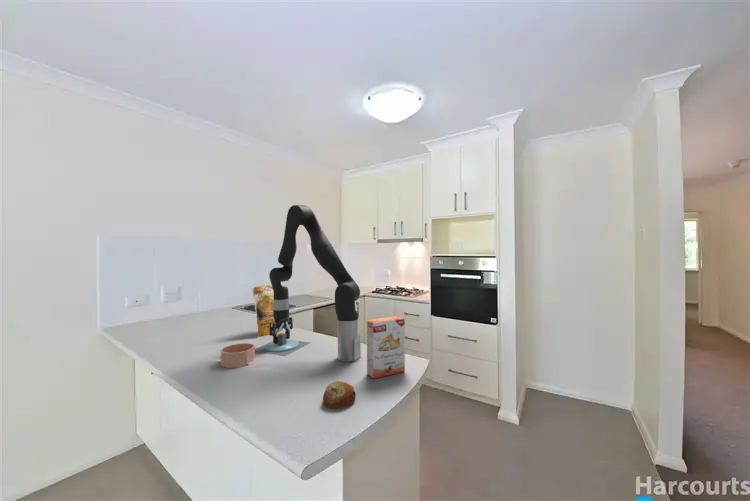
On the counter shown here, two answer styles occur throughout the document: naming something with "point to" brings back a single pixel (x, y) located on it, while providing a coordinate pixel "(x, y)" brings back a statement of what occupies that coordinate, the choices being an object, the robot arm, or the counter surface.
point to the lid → (282, 344)
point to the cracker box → (385, 346)
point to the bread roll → (338, 395)
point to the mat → (262, 350)
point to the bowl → (237, 355)
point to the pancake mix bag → (264, 308)
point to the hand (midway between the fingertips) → (281, 341)
